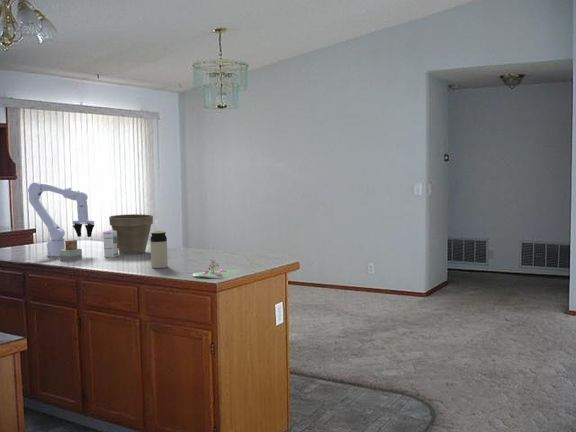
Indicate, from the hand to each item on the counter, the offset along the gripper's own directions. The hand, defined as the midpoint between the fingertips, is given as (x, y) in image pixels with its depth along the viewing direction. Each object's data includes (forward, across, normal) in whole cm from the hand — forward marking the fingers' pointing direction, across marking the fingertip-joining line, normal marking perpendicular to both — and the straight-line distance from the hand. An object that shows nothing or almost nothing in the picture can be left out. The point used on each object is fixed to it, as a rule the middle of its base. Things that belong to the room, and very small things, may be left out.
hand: (84, 236), depth 364 cm
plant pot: (+11, -22, -16) cm, 29 cm away
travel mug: (+12, -70, +21) cm, 74 cm away
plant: (+13, -108, +28) cm, 112 cm away
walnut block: (+5, -6, +16) cm, 18 cm away
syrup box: (+11, -20, 0) cm, 22 cm away
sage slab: (+8, -6, +17) cm, 19 cm away
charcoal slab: (+11, -6, +17) cm, 21 cm away
